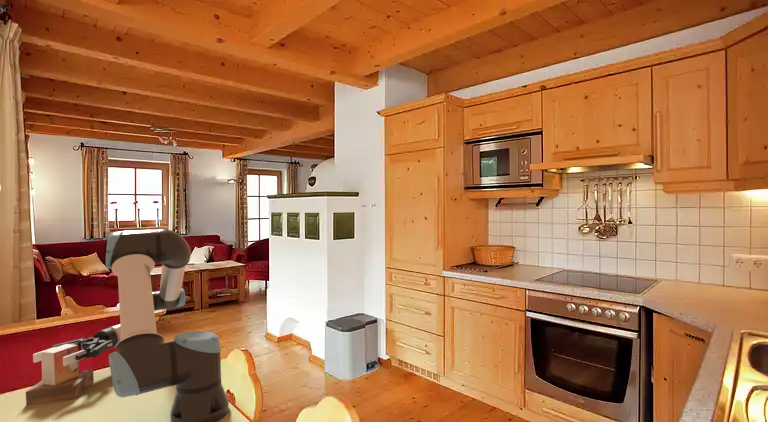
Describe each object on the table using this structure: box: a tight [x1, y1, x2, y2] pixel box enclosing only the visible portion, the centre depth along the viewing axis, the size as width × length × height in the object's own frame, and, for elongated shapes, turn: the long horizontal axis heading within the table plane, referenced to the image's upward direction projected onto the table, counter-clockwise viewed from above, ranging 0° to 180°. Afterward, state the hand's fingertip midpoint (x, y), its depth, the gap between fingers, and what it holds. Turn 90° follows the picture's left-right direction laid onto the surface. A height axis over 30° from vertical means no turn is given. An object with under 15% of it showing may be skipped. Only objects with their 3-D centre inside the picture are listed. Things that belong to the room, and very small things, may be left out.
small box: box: [40, 344, 80, 386], centre depth 133 cm, size 8×6×10 cm
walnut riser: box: [25, 369, 95, 406], centre depth 133 cm, size 13×13×4 cm
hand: (48, 360), depth 129 cm, fingers open, 12 cm apart
